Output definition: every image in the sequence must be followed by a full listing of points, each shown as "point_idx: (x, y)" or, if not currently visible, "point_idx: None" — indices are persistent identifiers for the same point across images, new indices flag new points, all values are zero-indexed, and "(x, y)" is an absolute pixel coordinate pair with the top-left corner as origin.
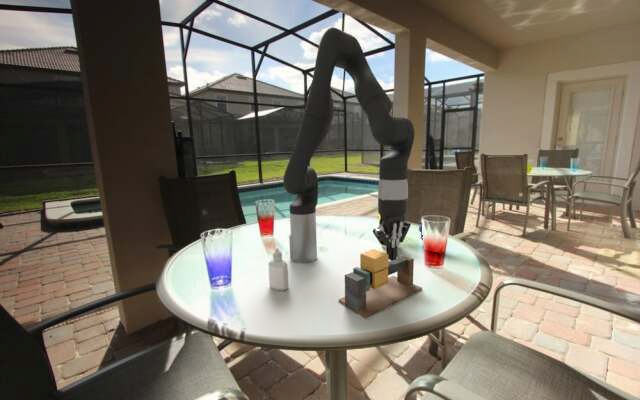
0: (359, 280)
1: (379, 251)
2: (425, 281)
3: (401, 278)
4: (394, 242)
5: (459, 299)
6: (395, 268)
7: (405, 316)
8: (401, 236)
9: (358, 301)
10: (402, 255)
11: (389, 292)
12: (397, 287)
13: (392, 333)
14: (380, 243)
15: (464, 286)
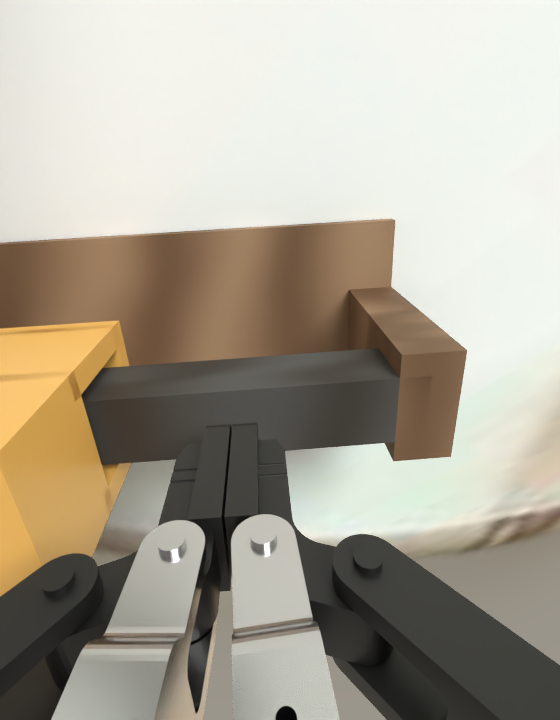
0: None
1: (20, 538)
2: (476, 362)
3: (353, 330)
4: (203, 666)
5: (414, 523)
6: None
7: (141, 497)
8: (380, 699)
9: None
10: (452, 364)
11: (207, 359)
12: (285, 344)
13: None
14: (25, 582)
15: (541, 480)
